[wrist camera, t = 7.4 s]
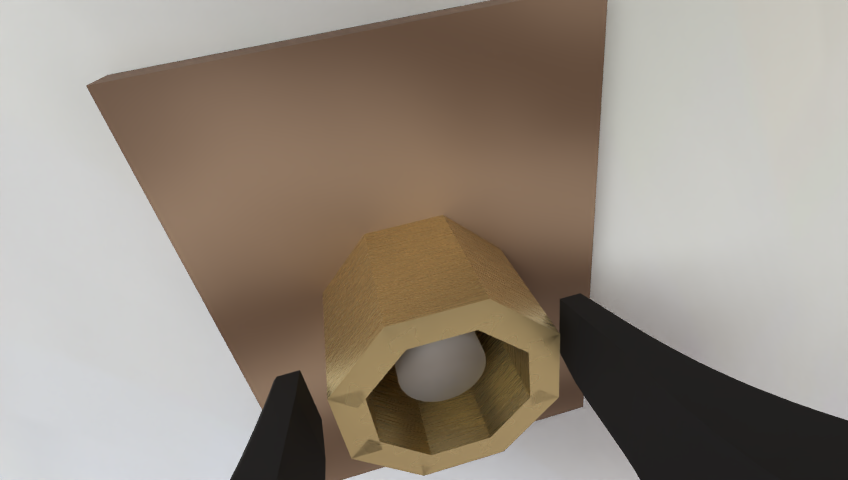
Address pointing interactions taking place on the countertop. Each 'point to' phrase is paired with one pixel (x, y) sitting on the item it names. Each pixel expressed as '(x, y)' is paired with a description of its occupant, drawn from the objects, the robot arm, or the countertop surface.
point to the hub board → (371, 172)
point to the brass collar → (425, 323)
